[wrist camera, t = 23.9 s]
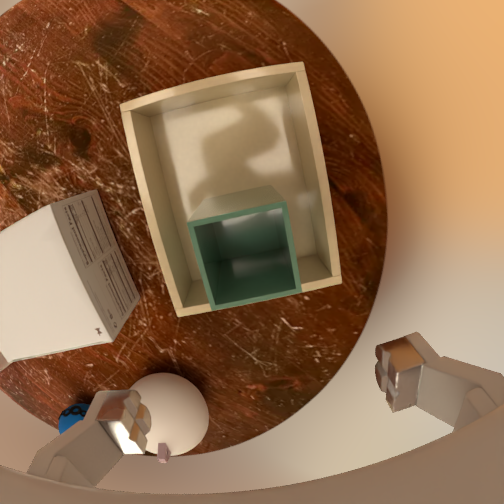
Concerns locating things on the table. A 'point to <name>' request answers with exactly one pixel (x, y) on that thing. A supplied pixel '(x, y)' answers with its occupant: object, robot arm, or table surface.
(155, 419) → the ornament
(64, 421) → the ornament
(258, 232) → the green rectangular container
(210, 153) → the open box
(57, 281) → the supplement box
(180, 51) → the table surface
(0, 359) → the cup
